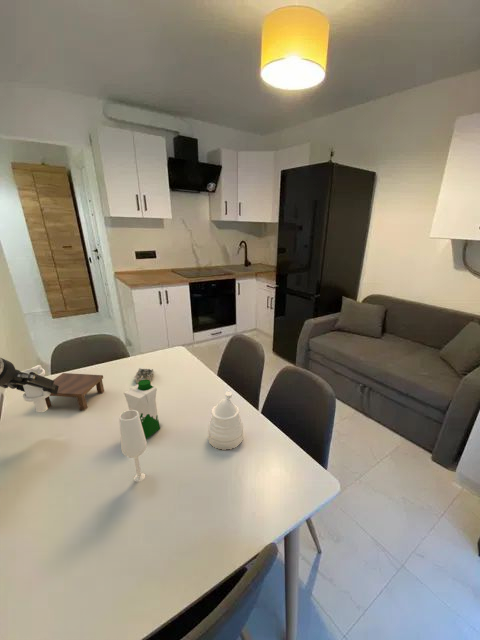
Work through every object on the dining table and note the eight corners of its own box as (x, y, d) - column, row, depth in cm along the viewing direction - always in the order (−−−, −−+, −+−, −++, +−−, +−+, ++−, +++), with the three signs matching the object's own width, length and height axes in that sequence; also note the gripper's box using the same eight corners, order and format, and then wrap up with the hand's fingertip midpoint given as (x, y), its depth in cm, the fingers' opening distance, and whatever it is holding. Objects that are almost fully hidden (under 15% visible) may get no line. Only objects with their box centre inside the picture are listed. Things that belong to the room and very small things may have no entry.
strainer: (60, 405, 99) (49, 366, 93) (42, 417, 92) (29, 376, 86) (42, 402, 100) (30, 363, 94) (23, 414, 93) (9, 373, 87)
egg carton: (150, 384, 139) (149, 377, 137) (134, 384, 138) (132, 377, 136) (155, 373, 148) (154, 366, 147) (139, 374, 147) (138, 366, 146)
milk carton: (163, 428, 110) (158, 382, 102) (145, 442, 103) (138, 394, 95) (146, 421, 113) (140, 376, 106) (127, 434, 106) (119, 387, 98)
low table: (41, 408, 118) (36, 391, 115) (67, 388, 132) (63, 372, 129) (85, 411, 118) (81, 394, 114) (106, 390, 132) (102, 375, 129)
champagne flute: (138, 493, 84) (126, 426, 74) (123, 483, 87) (109, 417, 77) (156, 477, 89) (147, 412, 79) (141, 468, 92) (131, 405, 82)
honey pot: (222, 422, 115) (221, 383, 108) (249, 434, 109) (251, 393, 102) (200, 441, 104) (198, 399, 97) (229, 455, 99) (229, 411, 92)
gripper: (-57, 382, 74) (9, 400, 95) (25, 384, 75) (73, 401, 96) (-46, 355, 76) (16, 378, 98) (33, 357, 78) (78, 379, 99)
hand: (44, 389), depth 97 cm, fingers closed on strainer, 7 cm apart
